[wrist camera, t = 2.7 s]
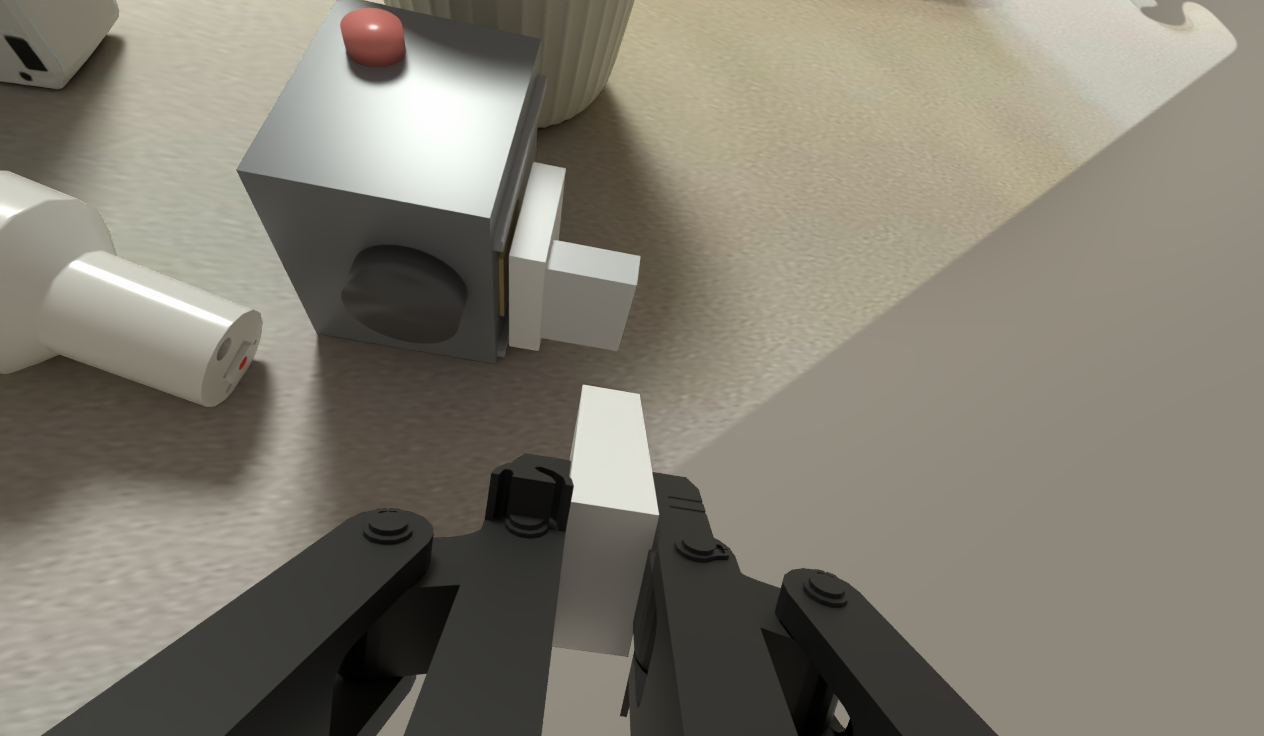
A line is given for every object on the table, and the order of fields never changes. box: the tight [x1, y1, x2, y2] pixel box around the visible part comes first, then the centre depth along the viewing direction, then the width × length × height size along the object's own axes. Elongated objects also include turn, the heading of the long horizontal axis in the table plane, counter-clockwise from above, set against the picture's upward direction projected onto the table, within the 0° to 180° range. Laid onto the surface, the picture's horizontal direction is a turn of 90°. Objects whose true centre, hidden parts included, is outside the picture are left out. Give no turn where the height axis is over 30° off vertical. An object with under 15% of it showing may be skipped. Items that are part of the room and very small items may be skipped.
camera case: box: [236, 0, 547, 364], centre depth 30 cm, size 9×13×12 cm
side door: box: [509, 162, 640, 351], centre depth 31 cm, size 5×6×7 cm
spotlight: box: [0, 171, 263, 407], centre depth 27 cm, size 8×11×8 cm
